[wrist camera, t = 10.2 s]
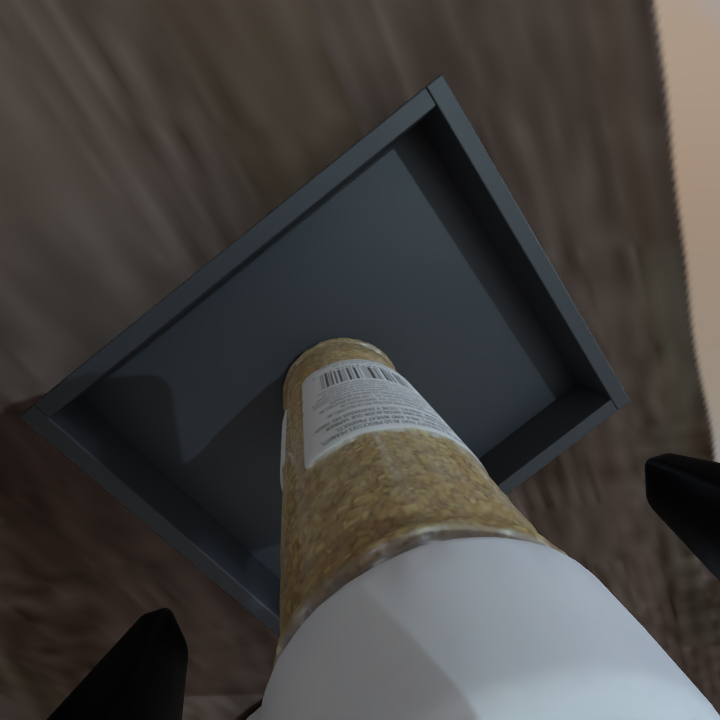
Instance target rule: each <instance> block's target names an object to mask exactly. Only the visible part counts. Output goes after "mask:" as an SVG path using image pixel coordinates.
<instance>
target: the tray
mask: <svg viewBox="0 0 720 720" xmlns="http://www.w3.org/2000/svg"><path fill="white" fill-rule="evenodd" d="M336 338H350V339H358V340H361V341H363V342H367V343H370V344H372V345H374V346H375V347H377V348H378V349H380V350H381V351H382V352H383V353H384V354H386V356H387V357H388V358H389V359H390V361H391V362H392V363H393V365H394V366H395V370H396V372H397V373H399V374H400V375H401V376H402V377H404V378H405V379H406V380H407V381H408V382H409V383H410V384H411V385H412V387H413V388H414V389H415V390H416V391H417V392H418V393H419V394H420V395H421V396H422V397H423V398H424V399H425V401H426V402H427V403H428V404H429V405H430V406H431V407H432V408H433V409H434V410H435V412H436V413H437V414H438V415H439V416H440V417H441V418H442V419H443V420H444V421H445V423H446V424H447V425H448V426H449V427H450V428H451V429H452V430H453V431H454V433H455V434H456V435H457V436H458V437H459V438H460V439H461V440H462V442H463V443H464V444H465V445H466V446H467V447H468V448H469V449H470V450H471V452H472V453H473V454H474V455H475V456H476V457H477V458H478V460H479V461H480V462H481V464H482V465H483V466H484V468H485V470H486V471H487V473H488V475H489V477H490V478H491V479H492V480H493V481H494V482H495V484H496V485H497V486H498V487H499V489H500V490H501V491H502V492H503V493H504V494H505V495H507V494H508V493H510V492H511V491H512V490H514V489H515V488H516V487H518V486H519V485H520V484H522V483H523V482H524V481H525V480H527V479H528V478H529V477H531V476H532V475H533V474H535V473H536V472H537V471H539V470H540V469H541V468H543V467H544V466H545V465H547V464H548V463H549V462H550V461H552V460H553V459H554V458H556V457H557V456H558V455H560V454H561V453H562V452H564V451H565V450H566V449H568V448H569V447H570V446H571V445H573V444H574V443H575V442H577V441H578V440H579V439H581V438H582V437H583V436H585V435H586V434H587V433H589V432H590V431H591V430H593V429H594V428H595V427H596V426H598V425H599V424H600V423H602V422H603V421H604V420H606V419H607V418H608V417H610V416H611V415H612V414H614V413H615V412H616V411H617V410H619V409H620V408H621V407H623V406H624V405H625V404H627V403H628V402H629V401H630V400H629V398H628V396H627V395H626V393H625V391H624V389H623V388H622V386H621V384H620V382H619V381H618V379H617V377H616V375H615V374H614V372H613V370H612V369H611V367H610V365H609V363H608V362H607V360H606V358H605V356H604V355H603V353H602V351H601V349H600V348H599V346H598V344H597V342H596V341H595V339H594V337H593V336H592V334H591V332H590V330H589V329H588V327H587V325H586V323H585V322H584V320H583V318H582V316H581V315H580V313H579V311H578V310H577V308H576V306H575V304H574V303H573V301H572V299H571V297H570V296H569V294H568V292H567V290H566V289H565V287H564V285H563V283H562V282H561V280H560V278H559V277H558V275H557V273H556V271H555V270H554V268H553V266H552V264H551V263H550V261H549V259H548V257H547V256H546V254H545V252H544V251H543V249H542V247H541V245H540V244H539V242H538V240H537V238H536V237H535V235H534V233H533V231H532V230H531V228H530V226H529V224H528V223H527V221H526V219H525V218H524V216H523V214H522V212H521V211H520V209H519V207H518V205H517V204H516V202H515V200H514V198H513V197H512V195H511V193H510V191H509V190H508V188H507V186H506V185H505V183H504V181H503V179H502V178H501V176H500V174H499V172H498V171H497V169H496V167H495V165H494V164H493V162H492V160H491V159H490V157H489V155H488V153H487V152H486V150H485V148H484V146H483V145H482V143H481V141H480V139H479V138H478V136H477V134H476V132H475V131H474V129H473V127H472V126H471V124H470V122H469V120H468V119H467V117H466V115H465V113H464V112H463V110H462V108H461V106H460V105H459V103H458V101H457V100H456V98H455V96H454V94H453V93H452V91H451V89H450V87H449V86H448V84H447V82H446V80H445V79H444V77H443V75H439V76H438V77H437V78H436V79H434V80H433V81H432V82H431V83H430V84H428V85H427V86H426V87H425V88H423V89H422V90H421V91H420V92H418V93H417V94H416V95H415V96H413V97H412V98H411V99H410V100H409V101H407V102H406V103H405V104H404V105H402V106H401V107H400V108H399V109H397V110H396V111H395V112H394V113H392V114H391V115H390V116H389V117H388V118H386V119H385V120H384V121H383V122H381V123H380V124H379V125H378V126H376V127H375V128H374V129H373V130H371V131H370V132H369V133H368V134H367V135H365V136H364V137H363V138H362V139H360V140H359V141H358V142H357V143H355V144H354V145H353V146H352V147H350V148H349V149H348V150H347V151H346V152H344V153H343V154H342V155H341V156H339V157H338V158H337V159H336V160H334V161H333V162H332V163H331V164H329V165H328V166H327V167H326V168H325V169H323V170H322V171H321V172H320V173H318V174H317V175H316V176H315V177H313V178H312V179H311V180H310V181H308V182H307V183H306V184H305V185H303V186H302V187H301V188H300V189H299V190H297V191H296V192H295V193H294V194H292V195H291V196H290V197H289V198H287V199H286V200H285V201H284V202H282V203H281V204H280V205H279V206H278V207H276V208H275V209H274V210H273V211H271V212H270V213H269V214H268V215H266V216H265V217H264V218H263V219H261V220H260V221H259V222H258V223H257V224H255V225H254V226H253V227H252V228H250V229H249V230H248V231H247V232H245V233H244V234H243V235H242V236H240V237H239V238H238V239H237V240H236V241H234V242H233V243H232V244H231V245H229V246H228V247H227V248H226V249H224V250H223V251H222V252H221V253H219V254H218V255H217V256H216V257H215V258H213V259H212V260H211V261H210V262H208V263H207V264H206V265H205V266H203V267H202V268H201V269H200V270H198V271H197V272H196V273H195V274H194V275H192V276H191V277H190V278H189V279H187V280H186V281H185V282H184V283H182V284H181V285H180V286H179V287H177V288H176V289H175V290H174V291H172V292H171V293H170V294H169V295H168V296H166V297H165V298H164V299H163V300H161V301H160V302H159V303H158V304H156V305H155V306H154V307H153V308H151V309H150V310H149V311H148V312H147V313H145V314H144V315H143V316H142V317H140V318H139V319H138V320H137V321H135V322H134V323H133V324H132V325H130V326H129V327H128V328H127V329H126V330H124V331H123V332H122V333H121V334H119V335H118V336H117V337H116V338H114V339H113V340H112V341H111V342H109V343H108V344H107V345H106V346H105V347H103V348H102V349H101V350H100V351H98V352H97V353H96V354H95V355H93V356H92V357H91V358H90V359H88V360H87V361H86V362H85V363H84V364H82V365H81V366H80V367H79V368H77V369H76V370H75V371H74V372H72V373H71V374H70V375H69V376H67V377H66V378H65V379H64V380H63V381H61V382H60V383H59V384H58V385H56V386H55V387H54V388H53V389H51V390H50V391H49V392H48V393H46V394H45V395H44V396H43V397H41V398H40V399H39V400H38V401H37V402H35V404H33V405H32V406H30V407H29V408H28V409H27V410H26V411H24V412H23V413H22V414H21V415H20V418H22V419H23V420H24V421H25V422H26V423H27V424H29V425H30V426H31V427H32V428H33V429H35V430H36V431H37V432H38V433H39V434H40V435H42V436H43V437H44V438H45V439H46V440H47V441H49V442H50V443H51V444H52V445H53V446H55V447H56V448H57V449H58V450H59V451H60V452H62V453H63V454H64V455H65V456H66V457H67V458H69V459H70V460H71V461H72V462H73V463H75V464H76V465H77V466H78V467H79V468H80V469H82V470H83V471H84V472H85V473H86V474H88V475H89V476H90V477H91V478H92V479H93V480H95V481H96V482H97V483H98V484H99V485H100V486H102V487H103V488H104V489H105V490H106V491H108V492H109V493H110V494H111V495H112V496H113V497H115V498H116V499H117V500H118V501H119V502H121V503H122V504H123V505H124V506H125V507H126V508H128V509H129V510H130V511H131V512H132V513H133V514H135V515H136V516H137V517H138V518H139V519H141V520H142V521H143V522H144V523H145V524H146V525H148V526H149V527H150V528H151V529H152V530H153V531H155V532H156V533H157V534H158V535H159V536H161V537H162V538H163V539H164V540H165V541H166V542H168V543H169V544H170V545H171V546H172V547H174V548H175V549H176V550H177V551H178V552H179V553H181V554H182V555H183V556H184V557H185V558H186V559H188V560H189V561H190V562H191V563H192V564H194V565H195V566H196V567H197V568H198V569H199V570H201V571H202V572H203V573H204V574H205V575H206V576H208V577H209V578H210V579H211V580H212V581H214V582H215V583H216V584H217V585H218V586H219V587H221V588H222V589H223V590H224V591H225V592H227V593H228V594H229V595H230V596H231V597H232V598H234V599H235V600H236V601H237V602H238V603H239V604H241V605H242V606H243V607H244V608H245V609H247V610H248V611H249V612H250V613H251V614H252V615H254V616H255V617H256V618H257V619H258V620H260V621H261V622H262V623H263V624H264V625H265V626H267V627H268V628H269V629H270V630H271V631H272V632H274V633H275V634H276V635H277V636H278V637H280V607H279V606H280V580H281V563H280V550H281V517H282V496H283V492H282V488H281V482H280V464H281V439H282V422H283V418H284V414H285V413H284V409H283V386H284V383H285V379H286V376H287V373H288V371H289V369H290V367H291V366H292V364H293V363H294V362H295V361H296V360H297V359H298V358H299V357H300V356H301V355H302V353H303V352H304V351H306V350H308V349H310V348H311V347H313V346H314V345H316V344H318V343H320V342H322V341H326V340H329V339H336Z"/></svg>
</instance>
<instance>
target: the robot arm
mask: <svg viewBox="0 0 720 720" xmlns="http://www.w3.org/2000/svg"><path fill="white" fill-rule="evenodd" d="M645 481H646V497H647V500H648V502H649V504H650V506H651V508H652V509H653V510H654V511H655V512H656V513H657V515H658V516H659V517H660V518H661V519H662V520H663V521H664V522H665V523H666V524H667V525H668V526H669V527H670V529H671V530H672V531H673V532H674V533H675V534H676V535H677V536H678V537H679V538H680V539H681V540H682V541H683V542H684V544H685V545H686V546H687V547H688V548H689V549H690V550H691V551H692V552H693V553H694V554H695V555H696V556H697V558H698V559H699V560H700V561H701V562H702V563H703V564H704V565H705V566H706V567H707V568H708V569H709V570H710V571H711V572H712V573H713V574H714V575H715V576H716V577H717V578H718V579H719V581H720V463H718V462H713V461H708V460H703V459H697V458H692V457H687V456H682V455H677V454H671V453H667V454H662V455H659V456H656V457H653V458H650V459H648V460H647V461H646V464H645ZM187 662H188V649H187V644H186V641H185V638H184V636H183V634H182V632H181V630H180V627H179V625H178V623H177V621H176V619H175V617H174V614H173V613H172V611H171V610H170V609H168V608H162V609H159V610H156V611H152V612H149V613H146V614H144V615H143V616H141V617H140V618H139V619H138V620H137V622H136V623H135V624H134V625H133V626H132V627H131V628H130V629H129V630H128V631H127V632H126V634H125V635H124V636H123V637H122V638H121V639H120V640H119V641H118V642H117V643H116V644H115V646H114V647H113V648H112V649H111V650H110V651H109V652H108V653H107V654H106V655H105V656H104V658H103V659H102V660H101V661H100V662H99V663H98V664H97V665H96V666H95V667H94V668H93V670H92V671H91V672H90V673H89V674H88V675H87V676H86V677H85V678H84V679H83V680H82V682H81V683H80V684H79V685H78V686H77V687H76V688H75V689H74V690H73V691H72V692H71V694H70V695H69V696H68V697H67V698H66V699H65V700H64V701H63V702H62V703H61V704H60V706H59V707H58V708H57V709H56V710H55V711H54V712H53V713H52V714H51V715H50V716H49V718H48V719H47V720H182V712H183V702H184V692H185V682H186V672H187Z"/></svg>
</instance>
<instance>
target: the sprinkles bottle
mask: <svg viewBox="0 0 720 720" xmlns="http://www.w3.org/2000/svg"><path fill="white" fill-rule="evenodd" d="M283 409H284V413H285V414H284V418H283V422H282V439H281V464H280V482H281V488H282V492H283V496H282V517H281V550H280V563H281V580H280V606H279V607H280V637H279V641H278V645H277V649H276V655H275V659H274V662H273V670H272V674H271V677H270V679H269V682H268V684H267V687H266V690H265V693H264V697H263V700H262V706H261V712H260V719H259V720H720V716H719V714H718V713H717V712H716V710H715V709H714V708H713V706H712V705H711V703H710V702H709V701H708V700H707V699H706V698H705V697H704V696H703V694H702V693H701V692H700V691H699V690H698V689H697V688H696V686H695V685H694V684H693V683H692V682H691V681H690V680H689V678H688V677H687V676H686V675H685V674H684V673H683V672H682V671H681V669H680V668H679V667H678V666H677V665H676V664H675V663H674V661H673V660H672V659H671V658H670V657H669V656H668V655H667V654H666V652H665V651H664V650H663V649H662V648H661V647H660V646H659V644H658V643H657V642H656V641H655V640H654V639H653V638H652V636H651V635H650V634H649V633H648V632H647V631H646V630H645V629H644V627H643V626H642V625H641V624H640V623H639V622H638V621H637V620H636V619H635V618H634V617H633V616H632V615H631V614H630V613H629V612H628V610H627V609H626V608H625V607H624V606H623V605H622V604H621V603H620V602H619V601H618V600H617V599H616V598H615V597H614V596H613V595H612V594H611V593H610V591H609V590H608V589H607V588H606V587H605V586H604V585H603V584H602V583H601V582H600V581H599V580H598V579H597V578H596V577H595V576H594V575H593V574H592V573H590V572H589V571H588V570H587V569H586V568H584V567H583V566H582V565H581V564H579V563H578V562H577V561H575V560H574V559H572V558H570V557H568V556H567V554H566V553H565V552H563V551H561V550H560V549H558V548H557V547H555V546H554V545H553V544H551V543H550V542H549V541H548V540H546V539H545V538H544V537H543V536H541V535H539V534H538V533H537V531H536V530H535V528H534V527H533V526H532V524H531V523H530V522H529V521H528V520H527V519H526V518H525V517H524V516H523V515H522V514H521V513H520V512H519V511H518V510H517V508H516V507H515V506H514V505H513V504H512V503H511V501H510V500H509V499H508V497H507V496H506V495H505V494H504V493H503V492H502V491H501V490H500V489H499V487H498V486H497V485H496V484H495V482H494V481H493V480H492V479H491V478H490V477H489V475H488V473H487V471H486V470H485V468H484V466H483V465H482V464H481V462H480V461H479V460H478V458H477V457H476V456H475V455H474V454H473V453H472V452H471V450H470V449H469V448H468V447H467V446H466V445H465V444H464V443H463V442H462V440H461V439H460V438H459V437H458V436H457V435H456V434H455V433H454V431H453V430H452V429H451V428H450V427H449V426H448V425H447V424H446V423H445V421H444V420H443V419H442V418H441V417H440V416H439V415H438V414H437V413H436V412H435V410H434V409H433V408H432V407H431V406H430V405H429V404H428V403H427V402H426V401H425V399H424V398H423V397H422V396H421V395H420V394H419V393H418V392H417V391H416V390H415V389H414V388H413V387H412V385H411V384H410V383H409V382H408V381H407V380H406V379H405V378H404V377H402V376H401V375H400V374H399V373H397V372H396V370H395V366H394V365H393V363H392V362H391V361H390V359H389V358H388V357H387V356H386V354H384V353H383V352H382V351H381V350H380V349H378V348H377V347H375V346H374V345H372V344H370V343H367V342H363V341H361V340H358V339H350V338H336V339H329V340H326V341H322V342H320V343H318V344H316V345H314V346H313V347H311V348H310V349H308V350H306V351H304V352H303V353H302V355H301V356H300V357H299V358H298V359H297V360H296V361H295V362H294V363H293V364H292V366H291V367H290V369H289V371H288V373H287V376H286V379H285V383H284V386H283Z"/></svg>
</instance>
